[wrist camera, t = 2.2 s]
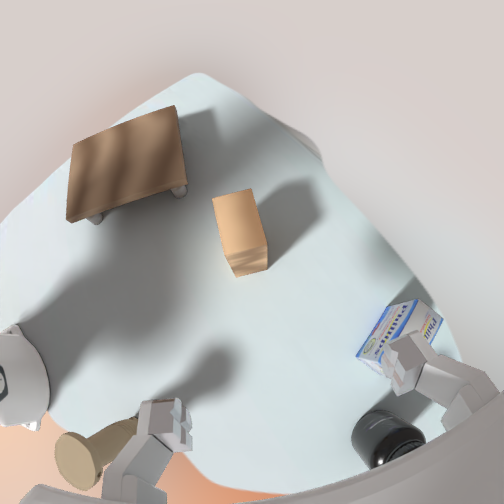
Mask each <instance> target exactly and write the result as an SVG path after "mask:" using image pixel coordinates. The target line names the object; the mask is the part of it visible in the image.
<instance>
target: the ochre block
mask: <svg viewBox="0 0 504 504" xmlns="http://www.w3.org/2000/svg"><path fill="white" fill-rule="evenodd" d="M212 202H213V206H214V211H215V215H216V220H217V224H218V229H219V233H220V238H221V242H222V246H223V251H224V255H225V257H226V259H227V261H228V263H229V265H230V267H231V269H232V271H233V273H234V274H235V276H236V277H240V276H244V275H248V274H252V273H256V272H259V271H263V270H267V241H266V238H265V234H264V231H263V227H262V224H261V220H260V217H259V213H258V210H257V206H256V203H255V199H254V196H253V193H252V189H247V190H243V191H239V192H235V193H231V194H227V195H223V196H219V197H216V198H212Z"/></svg>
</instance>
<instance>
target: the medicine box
mask: <svg viewBox="0 0 504 504" xmlns="http://www.w3.org/2000/svg"><path fill="white" fill-rule="evenodd" d="M443 320H444V319H443V318H442V317H441V316H440V315H439V314H437V313H436V312H435V311H434V310H432V309H431V308H430V307H429V306H428V305H426V304H425V303H424V302H423V301H421V300H420V299H415V300H411V301H407V302H403V303H400V304H396V305H392V306H388V307H387V308H386V309H385V311H384V313H383V314H382V316H381V318H380V319H379V321H378V323H377V324H376V326H375V327H374V329H373V331H372V332H371V334H370V335H369V337H368V338H367V340H366V342H365V343H364V345H363V346H362V348H361V349H360V351H359V352H358V353H357V355H356V358H357V359H359V360H360V361H362V362H363V363H364V364H366V365H367V366H368V367H370V368H371V369H372V370H374V371H375V372H377V373H378V374H380V375H384V376H385V374H384V372H383V370H382V366H381V356H382V355H383V354H384V351H383V345H384V343H386V342H388V341H391V340H393V339H395V338H397V337H400V336H402V335H404V334H407V333H409V332H412V331H414V330H418V331H419V332H420V333H421V334H422V335H423V337H424V338H425V339H426V341H427V342H428V343H429V344H430V345H431V343H432V341H433V339H434V338H435V336H436V334H437V332H438V330H439V328H440V326H441V324H442V322H443Z"/></svg>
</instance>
